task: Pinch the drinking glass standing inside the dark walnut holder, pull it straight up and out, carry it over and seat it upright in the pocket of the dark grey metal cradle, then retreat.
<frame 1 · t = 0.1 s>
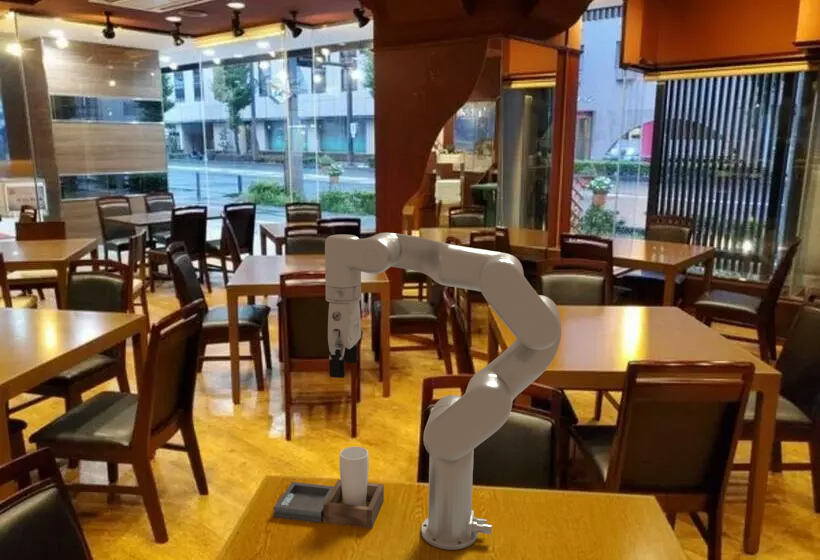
hand: (344, 369, 134), 36 cm above the table, tool pointing down, fingers open, 9 cm apart
metal cradle: (306, 506, 147), on the table
walnut holder: (354, 511, 145), on the table
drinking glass: (354, 512, 145), resting in walnut holder
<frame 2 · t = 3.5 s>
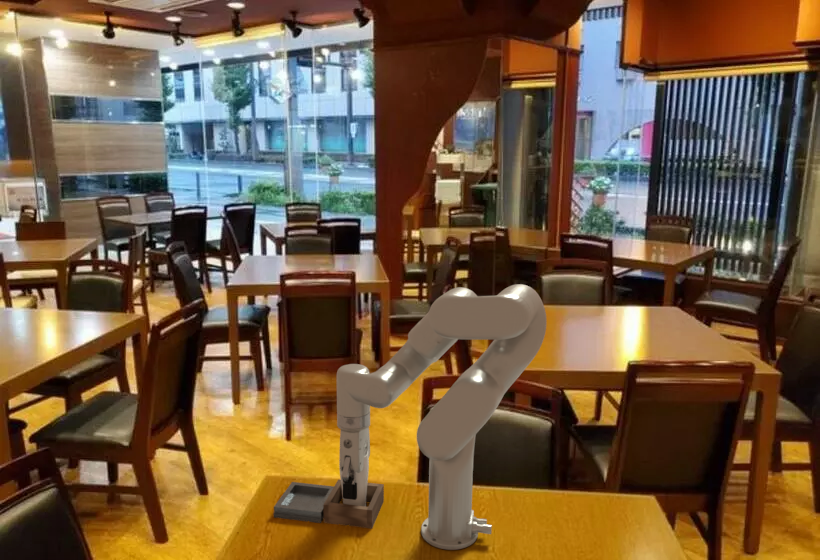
hand: (354, 489, 144), 6 cm above the table, tool pointing down, fingers closed on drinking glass, 6 cm apart
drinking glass: (354, 512, 145), resting in walnut holder, touching gripper
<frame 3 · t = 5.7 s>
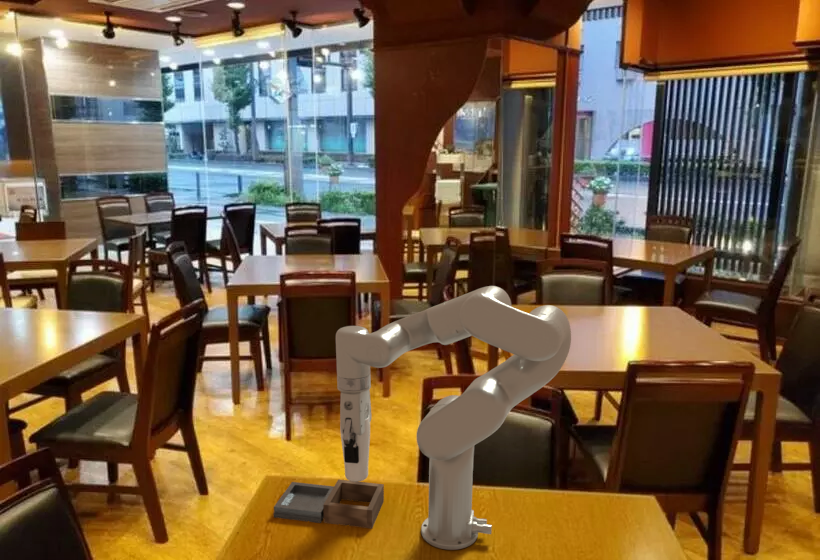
hand: (356, 454, 142), 15 cm above the table, tool pointing down, fingers closed on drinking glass, 6 cm apart
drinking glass: (356, 477, 143), point 9 cm above the table, touching gripper
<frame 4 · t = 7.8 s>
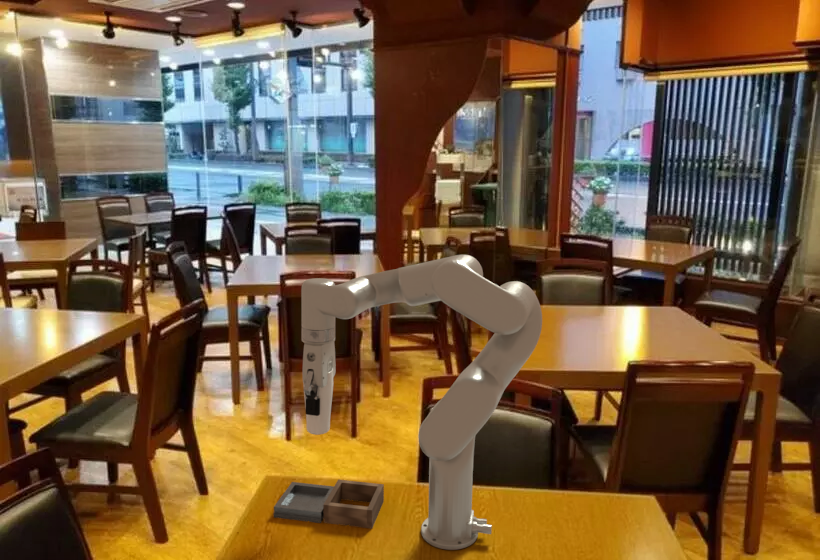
hand: (318, 407, 142), 25 cm above the table, tool pointing down, fingers closed on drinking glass, 6 cm apart
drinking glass: (318, 431, 143), point 19 cm above the table, touching gripper
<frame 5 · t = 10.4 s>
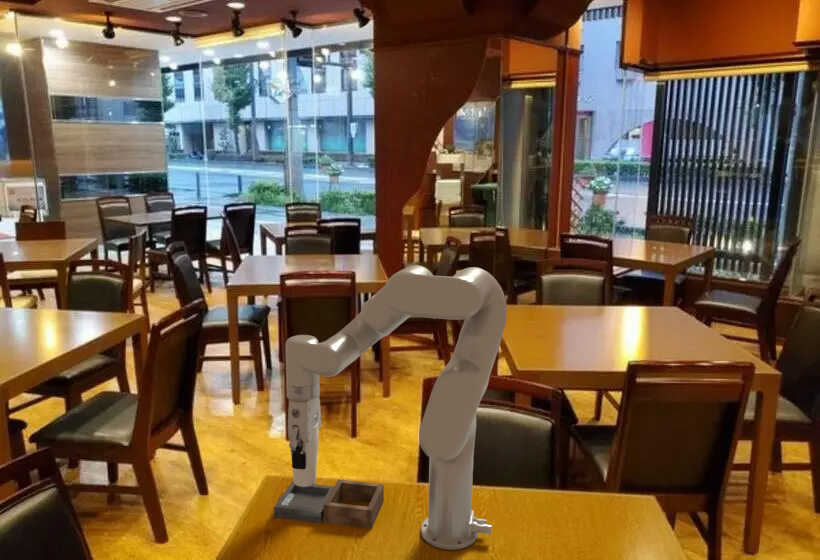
hand: (304, 460, 145), 12 cm above the table, tool pointing down, fingers closed on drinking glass, 6 cm apart
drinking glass: (304, 483, 146), point 6 cm above the table, touching gripper
when the fingers open (7 cm above the table, at t = 12.3 s): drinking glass stays where it is, resting on metal cradle.
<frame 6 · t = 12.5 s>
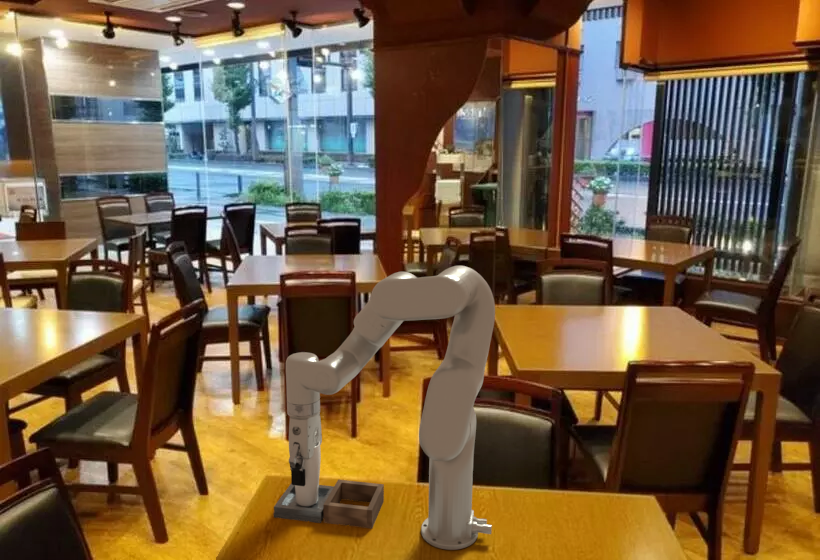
hand: (305, 475, 146), 8 cm above the table, tool pointing down, fingers open, 8 cm apart
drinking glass: (307, 502, 147), point 1 cm above the table, touching metal cradle
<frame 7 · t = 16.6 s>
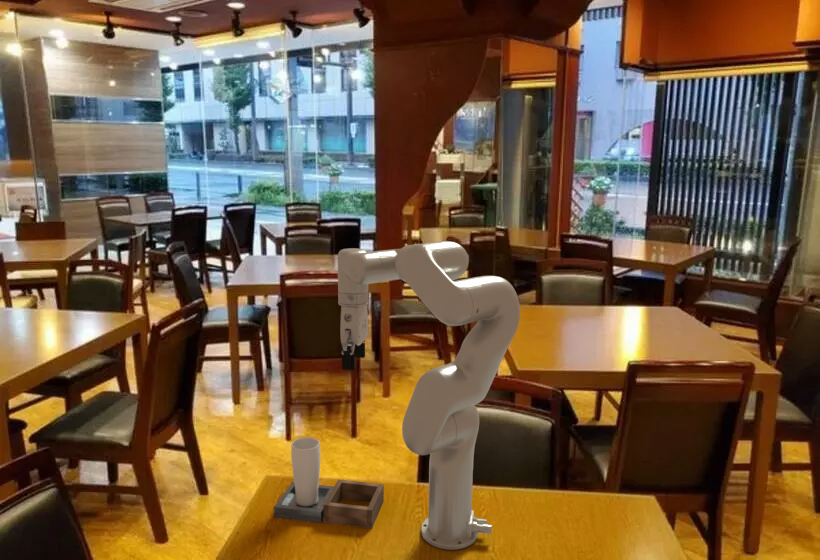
hand: (353, 363, 157), 30 cm above the table, tool pointing down, fingers open, 9 cm apart
nothing on the table moved.
at the end: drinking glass 0.4 cm off-centre on the metal cradle, point 0.8 cm above the metal cradle's base; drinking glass tilted 0°; the gripper is holding nothing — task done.
